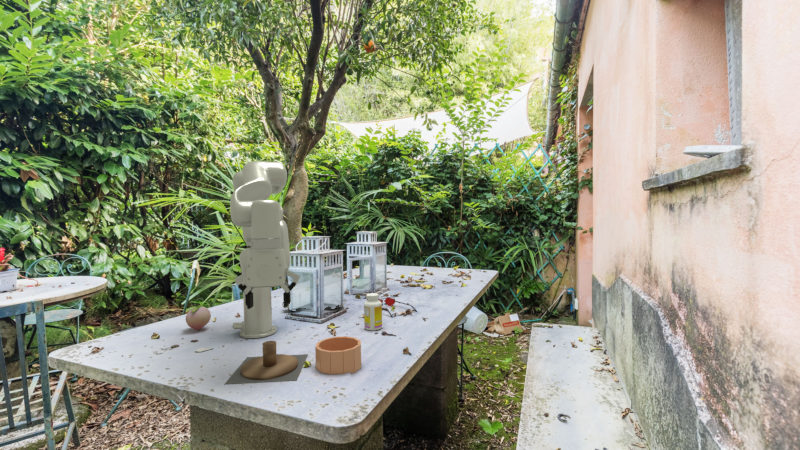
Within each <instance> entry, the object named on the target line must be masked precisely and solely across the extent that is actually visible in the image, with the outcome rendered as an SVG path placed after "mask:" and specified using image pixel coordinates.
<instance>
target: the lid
mask: <svg viewBox="0 0 800 450" xmlns="http://www.w3.org/2000/svg"><path fill="white" fill-rule="evenodd" d="M291 355H292V354H285V353H283V354H282V353H277V341H276V340H267V341H266V340H265V341H264V342H263V343H262V356H257V357H258V358H254V359H252V360H250V361H248V362H246V363H244V364H243V365H242V366H241V375H242V376H243V377H245V378H247V379H252V380H267V379H273V378H278V377H281V376H284V375H287V374H289V373H291V372H292V371H294V370H295V369H296V368H297V367H298V360H297V358H296V357H294V356H291Z"/></svg>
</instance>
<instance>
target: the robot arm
mask: <svg viewBox="0 0 800 450" xmlns="http://www.w3.org/2000/svg"><path fill="white" fill-rule="evenodd" d="M287 179H288V172H287V169H286V167H285V165H284V163H281V162H279V161H264V160H263V161H262V160H253V161H249V162H247V163H246V164H245V165H244V166H243V167H242V170H241V171H240V170H239V171H236V173H234V174H233V177H232V186H233V192H232V194H231V197H230V201H229V208H230V210H229V211H230V219H231V222H232V224H233V225H235V227H239V228H242V229H241V231H242V236H243V237H242V238H243V241H244V242H245V243H246V244H245V245H246V248H244V249H243V250H242V251H241V252H240V253H239V260H238V261H239V265H240V271H241V274H240V275H238V276H236V277H234V283H235V284H236V285H237V287H238V289H239V290H241V291H242V293H243V296H242V299H243V321H242V322H233V323H232V329H233V330H240V331H239V336H240V337H241V338H245V339H261V338H264V337H269V336H272V335H273V334H275V333H276V332H277V329H278V328H277V327H276V326H275V325H273V316H272V315H273V312H272V309H273V308H272V288H277V287H281V289H282V290H283V291H284V292H283V299H282V300H283V302H284V303H283V306H284V307H285V308H287V306H288V305H289V304H290V302H291V298H292V297H291V291H292V290H293V289H294V288H295V287H296V286H297V284H298V282H299V279H301V276H300V275H299V274H298V273H295V272H293V271H291V270H289V268H290V266H291V250H290V240H289V237H290V236H289V229H288V225H287V222H286V221H285V220H284V208H283V207H282V205H281V204H280V203H279V202H278V201H277V200H273V199H269V198H270V196H271V195H273V194H274V195H276V194H280V193H281V192H282V191H283V189H284V188H285V186H286V184H287ZM288 277H290V278H292V282H291V283H290V284H289V283H288ZM284 307H283V308H284Z"/></svg>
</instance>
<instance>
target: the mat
mask: <svg viewBox="0 0 800 450" xmlns="http://www.w3.org/2000/svg"><path fill="white" fill-rule="evenodd" d="M290 355H291V356H294V357H296V358H297V360H298V367H297V368H296V369H295V370H294V371H292V372H291V373H289V374H287V375H284V376H281V377H278V378H273V379H267V380H252V379H247V378H245V377H243V376H242V375H241V366H242V365H243V364H244V363H246V362H248V361H250V360H252V359H254V358H258V357H259V356H247V357H246V358H245V359H244V360H243V362H242V363H241V364H240V365H239V366H238V367H237V369H235V371H233V373H232V374H231V376H229V378H228V379H227V380H226V381H225V382H224V383H223V385H228V386H229V385H240V384H241V385H242V384H243V385H244V384H245V385H246V384H260V383H261V384H262V383H263V384H264V383H280V382H281V383H282V382H297V381H298V379H299V377H300V375H301V372H302V369H303V368H304V365H305V363H306V361H307V358H308V357H309V354H308V353H307V354H290Z"/></svg>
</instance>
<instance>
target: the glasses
mask: <svg viewBox="0 0 800 450" xmlns="http://www.w3.org/2000/svg"><path fill="white" fill-rule="evenodd" d="M378 300H379V301H381V303H382V307H383V305H384V304H385V305H386V306H388V307H389V306H391V305H392V306H393V305H395V304H396V303H399V304H402V305H406V306H410V307H412V309H413V310H414V311H415V313H418V311H417V309H416V308H415V307H414V306H413V305H411V304H409V303H404V302H401V301H397V300H396V299H395V297H394V296H392V297H391V296H389V297H388V296H387V297H384V298H378ZM383 300H384V303H383ZM392 306H391V307H392ZM382 311H386V312H387V313H388V315H390V317H391V318H392V319H393V318H394V316H393V315H392V313H391V312H390V311H389V310H388V309H385V308H382Z"/></svg>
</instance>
